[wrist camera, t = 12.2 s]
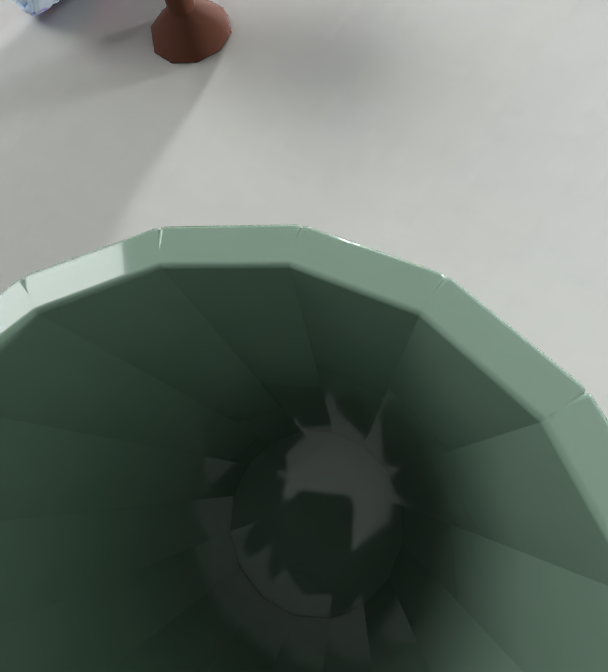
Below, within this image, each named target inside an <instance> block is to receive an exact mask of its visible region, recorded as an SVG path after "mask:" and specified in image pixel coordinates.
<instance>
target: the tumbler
mask: <svg viewBox="0 0 608 672" xmlns="http://www.w3.org/2000/svg"><path fill="white" fill-rule="evenodd" d="M584 392H585V388H584V386H583V385H582V384H581V383H579V382H578V381H577V380H576V379H574V378H573V377H572V376H571V375H569V374H568V373H567V372H566V371H565V370H563V369H562V368H561V367H560V366H558V365H557V364H556V363H555V362H553V361H552V360H551V359H550V358H549V357H547V356H546V355H545V354H544V353H542V352H541V351H540V350H539V349H538V348H536V347H535V346H534V345H533V344H531V343H530V342H529V341H528V340H526V339H525V338H524V337H523V336H522V335H520V334H519V333H518V332H517V331H515V330H514V329H513V328H512V327H511V326H509V325H508V324H507V323H506V322H504V321H503V320H502V319H501V318H499V317H498V316H497V315H496V314H495V313H493V312H492V311H491V310H490V309H488V308H487V307H486V306H485V305H483V304H482V303H481V302H480V301H479V300H477V299H476V298H475V297H474V296H472V295H471V294H470V293H469V292H468V291H466V290H465V289H464V288H463V287H461V286H460V285H459V284H458V283H456V282H455V281H454V280H453V279H451V278H446V279H445V277H444V275H443V274H442V273H440V272H437V271H434V270H431V269H428V268H425V267H423V266H420V265H417V264H414V263H411V262H408V261H405V260H402V259H400V258H397V257H394V256H391V255H388V254H385V253H382V252H379V251H377V250H374V249H371V248H368V247H365V246H362V245H359V244H356V243H353V242H351V241H348V240H345V239H342V238H339V237H336V236H333V235H330V234H328V233H325V232H322V231H319V230H316V229H313V228H310V227H307V226H303V227H302V228H301V227H300V226H299V225H240V226H182V227H163V228H161V229H160V230H159V229H152V230H149V231H147V232H144V233H141V234H138V235H136V236H133V237H130V238H127V239H125V240H122V241H119V242H116V243H114V244H111V245H108V246H105V247H103V248H100V249H97V250H94V251H92V252H89V253H86V254H83V255H81V256H78V257H75V258H72V259H70V260H67V261H64V262H61V263H59V264H56V265H53V266H51V267H48V268H45V269H42V270H40V271H37V272H34V273H31V274H29V275H27V276H26V277H25V279H20V280H17V281H16V282H15V283H13V284H12V285H11V286H10V287H8V288H7V289H6V290H4V291H3V292H2V293H0V672H608V420H607V419H606V417H605V416H604V414H603V412H602V411H601V409H600V407H599V406H598V404H597V403H596V401H595V399H594V398H593V397H592V396H591V395H590V394H589V393H584Z"/></svg>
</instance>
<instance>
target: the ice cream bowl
mask: <svg viewBox="0 0 608 672" xmlns="http://www.w3.org/2000/svg"><path fill="white" fill-rule="evenodd" d="M165 1H166V4H167V7H166V8H165V9H163V10H162V12H161V13H160V15H159V16H158V17H157V19H156V20H155V21H154V23H153V24H152V26H151V31H152V38H153V45H154V52H155V53H157V54H158V55H160V56H161V57H163V58H164V59H166V60H168V61H169V62H171V63H189V62H198V61H200V60H202V59H204V58H206V57H208V56H210V55H212V54H214V53H216V52H218V51H220V50H221V48H222V46H223V45H224V43H225V42H226V40H227V39H228V37H229V35H230V34H231V28H230V24H229V20H228V16H227V14H226V12H225V10H224V9H223V8H222V7H221V6H219V5H217V4H215V3H213V2H211V1H209V0H165Z"/></svg>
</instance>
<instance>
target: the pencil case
mask: <svg viewBox="0 0 608 672" xmlns="http://www.w3.org/2000/svg"><path fill="white" fill-rule="evenodd" d="M14 1H15V2H16V3H17V4H18V5H19V6H20V8H21V9H22V10H23V11H24V12H26V13H29V14H30V15H31V16H37V15H39V14H40V13H42V12H44V11H46V10H48V9H49V8H50V7H51V6H52V5H53V4H54V3H57V2H59V1H60V0H14Z"/></svg>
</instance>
